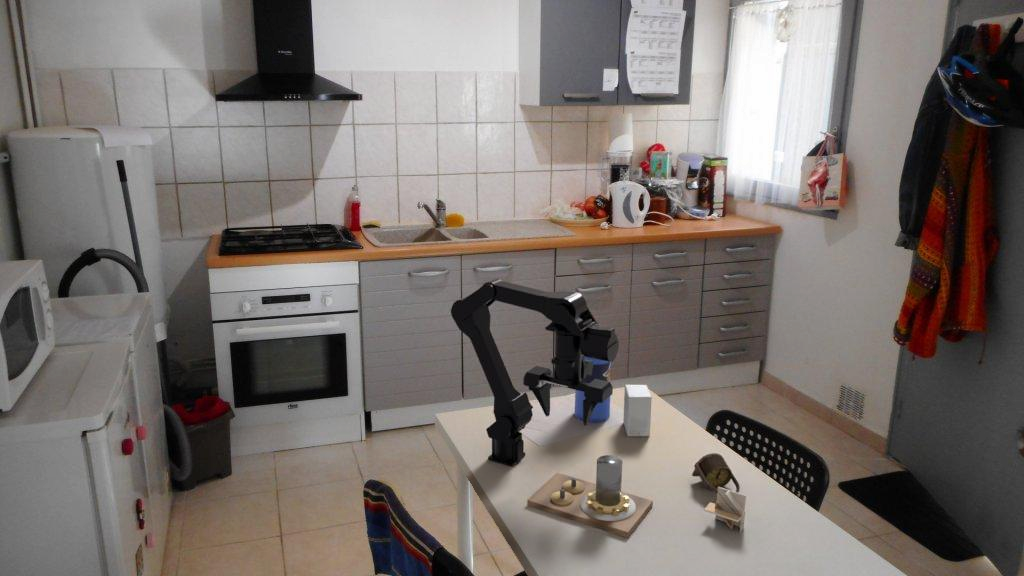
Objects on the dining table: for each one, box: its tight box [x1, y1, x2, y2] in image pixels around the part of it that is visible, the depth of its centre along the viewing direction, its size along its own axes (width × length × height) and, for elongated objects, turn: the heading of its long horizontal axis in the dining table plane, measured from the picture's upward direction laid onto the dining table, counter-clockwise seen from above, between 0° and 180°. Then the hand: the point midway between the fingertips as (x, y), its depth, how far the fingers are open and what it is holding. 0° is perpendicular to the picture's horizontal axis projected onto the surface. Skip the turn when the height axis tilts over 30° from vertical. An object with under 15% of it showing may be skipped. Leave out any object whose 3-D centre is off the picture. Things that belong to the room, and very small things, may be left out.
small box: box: [623, 384, 653, 437], centre depth 186 cm, size 8×6×10 cm
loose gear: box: [587, 454, 629, 517], centre depth 150 cm, size 9×9×10 cm
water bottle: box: [574, 322, 612, 424], centre depth 192 cm, size 9×9×25 cm
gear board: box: [526, 472, 654, 539], centre depth 153 cm, size 22×13×3 cm, turn 59°
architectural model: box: [704, 487, 747, 533], centre depth 146 cm, size 3×7×7 cm, turn 55°
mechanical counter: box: [691, 452, 740, 494], centre depth 158 cm, size 7×13×10 cm
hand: (566, 420), depth 162 cm, fingers open, 9 cm apart
